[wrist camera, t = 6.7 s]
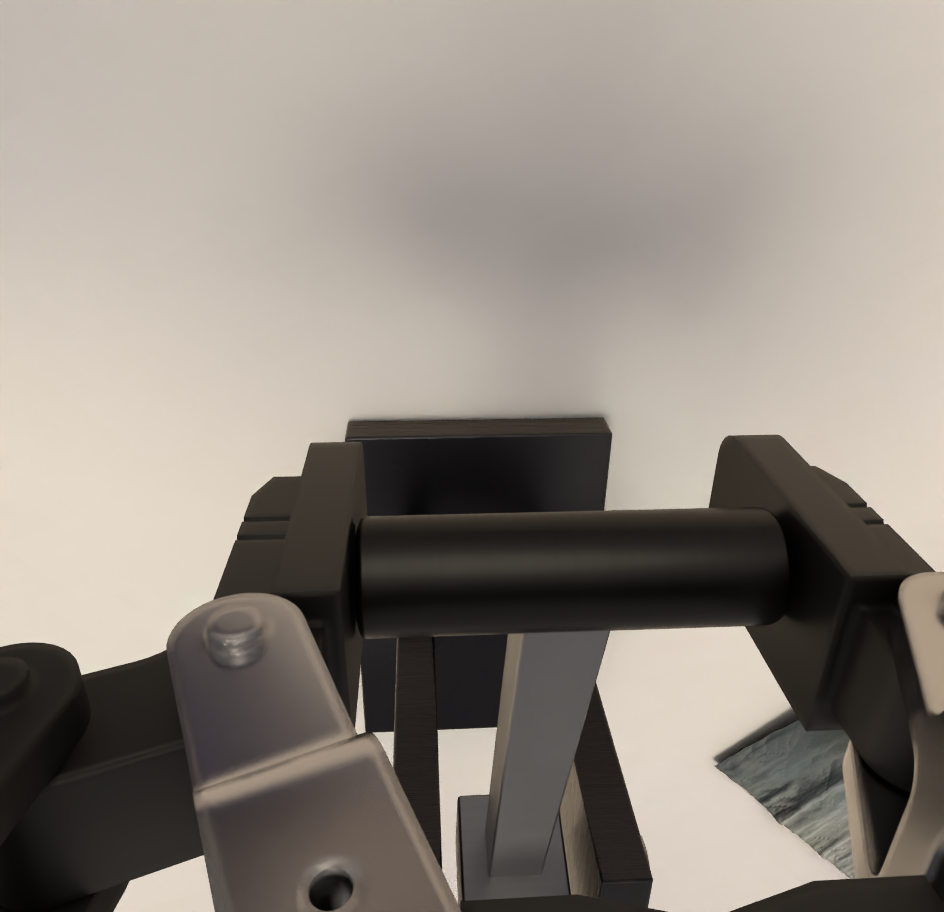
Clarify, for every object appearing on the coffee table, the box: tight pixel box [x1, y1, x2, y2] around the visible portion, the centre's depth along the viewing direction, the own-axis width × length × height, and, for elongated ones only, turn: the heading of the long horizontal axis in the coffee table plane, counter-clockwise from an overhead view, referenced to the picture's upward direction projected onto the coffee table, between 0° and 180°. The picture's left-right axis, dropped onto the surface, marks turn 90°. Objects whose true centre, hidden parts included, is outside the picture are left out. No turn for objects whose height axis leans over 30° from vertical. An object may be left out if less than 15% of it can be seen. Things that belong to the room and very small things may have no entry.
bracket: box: [345, 418, 653, 908], centre depth 21 cm, size 12×8×13 cm, turn 179°
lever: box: [355, 507, 793, 908], centre depth 14 cm, size 13×5×2 cm, turn 179°
